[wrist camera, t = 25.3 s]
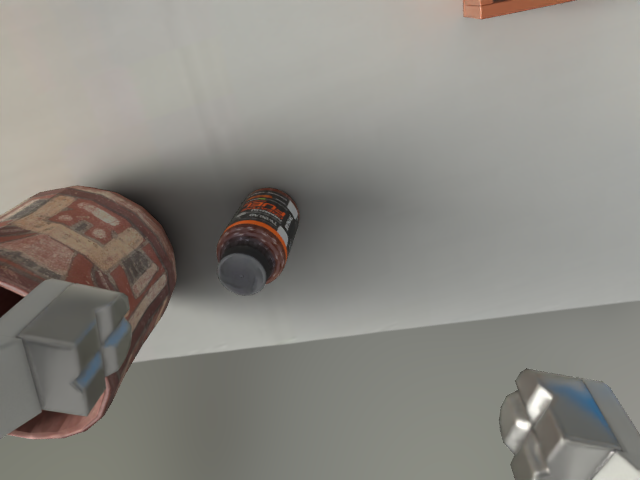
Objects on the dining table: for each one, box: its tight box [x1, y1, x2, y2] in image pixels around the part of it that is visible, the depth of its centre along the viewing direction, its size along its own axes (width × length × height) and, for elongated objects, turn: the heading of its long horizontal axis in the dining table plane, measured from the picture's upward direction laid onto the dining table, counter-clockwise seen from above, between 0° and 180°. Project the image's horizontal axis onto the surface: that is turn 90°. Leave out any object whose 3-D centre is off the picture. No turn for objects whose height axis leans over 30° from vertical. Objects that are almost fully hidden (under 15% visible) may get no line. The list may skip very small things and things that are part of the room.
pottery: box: [0, 186, 177, 439], centre depth 38 cm, size 18×18×18 cm
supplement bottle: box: [217, 188, 299, 296], centre depth 37 cm, size 6×6×11 cm
